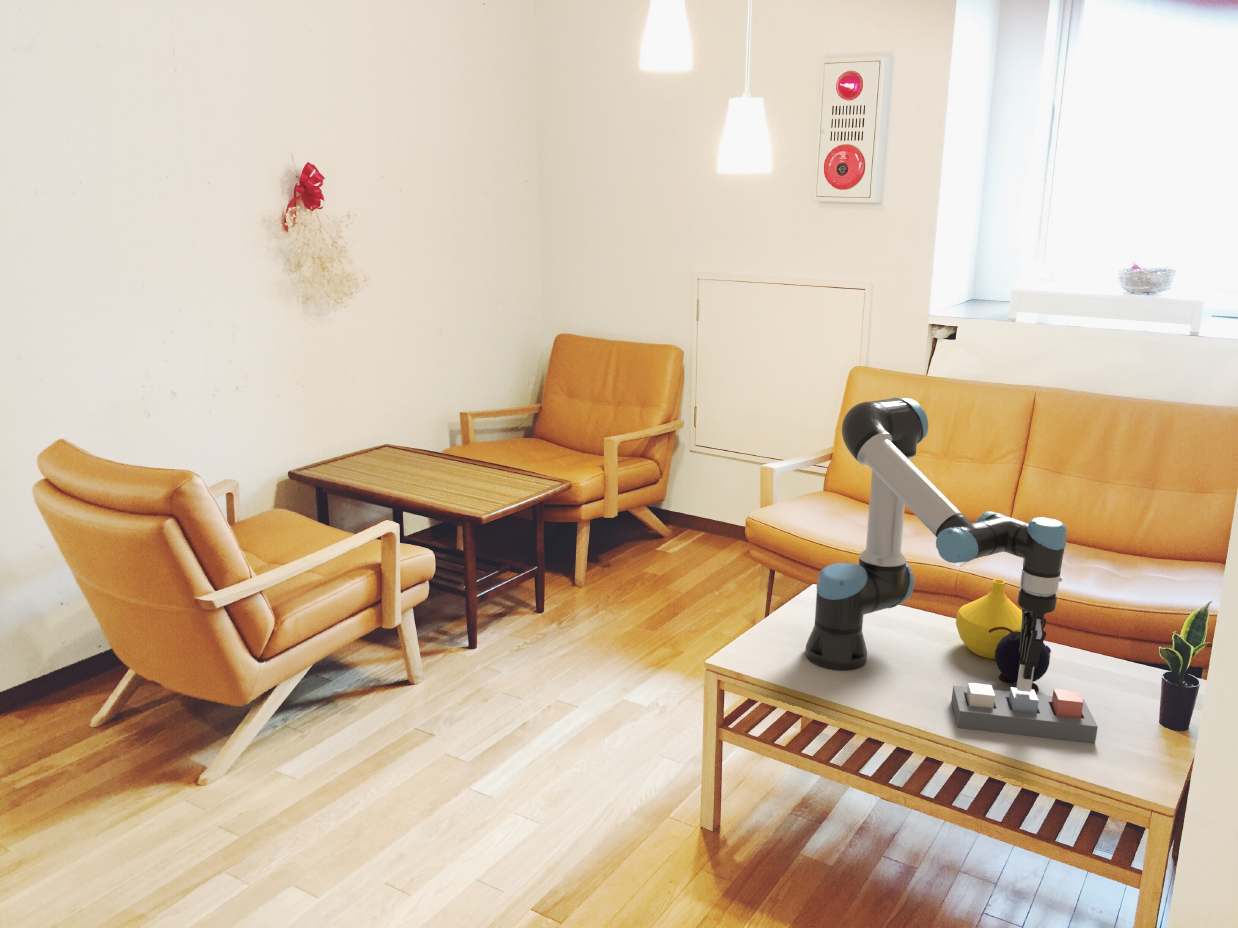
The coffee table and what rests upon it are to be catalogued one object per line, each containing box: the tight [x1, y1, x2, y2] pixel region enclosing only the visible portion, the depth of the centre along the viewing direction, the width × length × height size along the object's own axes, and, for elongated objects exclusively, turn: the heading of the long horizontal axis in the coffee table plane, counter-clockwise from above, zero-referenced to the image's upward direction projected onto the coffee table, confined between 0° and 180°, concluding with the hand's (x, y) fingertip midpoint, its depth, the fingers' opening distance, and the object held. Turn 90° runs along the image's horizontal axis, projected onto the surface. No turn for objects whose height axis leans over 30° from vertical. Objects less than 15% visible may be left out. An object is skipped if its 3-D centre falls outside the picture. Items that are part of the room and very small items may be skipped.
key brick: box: [1051, 688, 1083, 718], centre depth 214 cm, size 5×5×4 cm
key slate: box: [1008, 686, 1039, 713], centre depth 216 cm, size 5×5×4 cm
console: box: [951, 684, 1098, 744], centre depth 217 cm, size 28×12×4 cm, turn 78°
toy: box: [989, 627, 1052, 693], centre depth 232 cm, size 12×14×15 cm
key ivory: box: [966, 682, 995, 708], centre depth 218 cm, size 5×5×4 cm
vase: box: [955, 578, 1022, 660], centre depth 249 cm, size 18×18×19 cm
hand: (1023, 689), depth 215 cm, fingers closed
